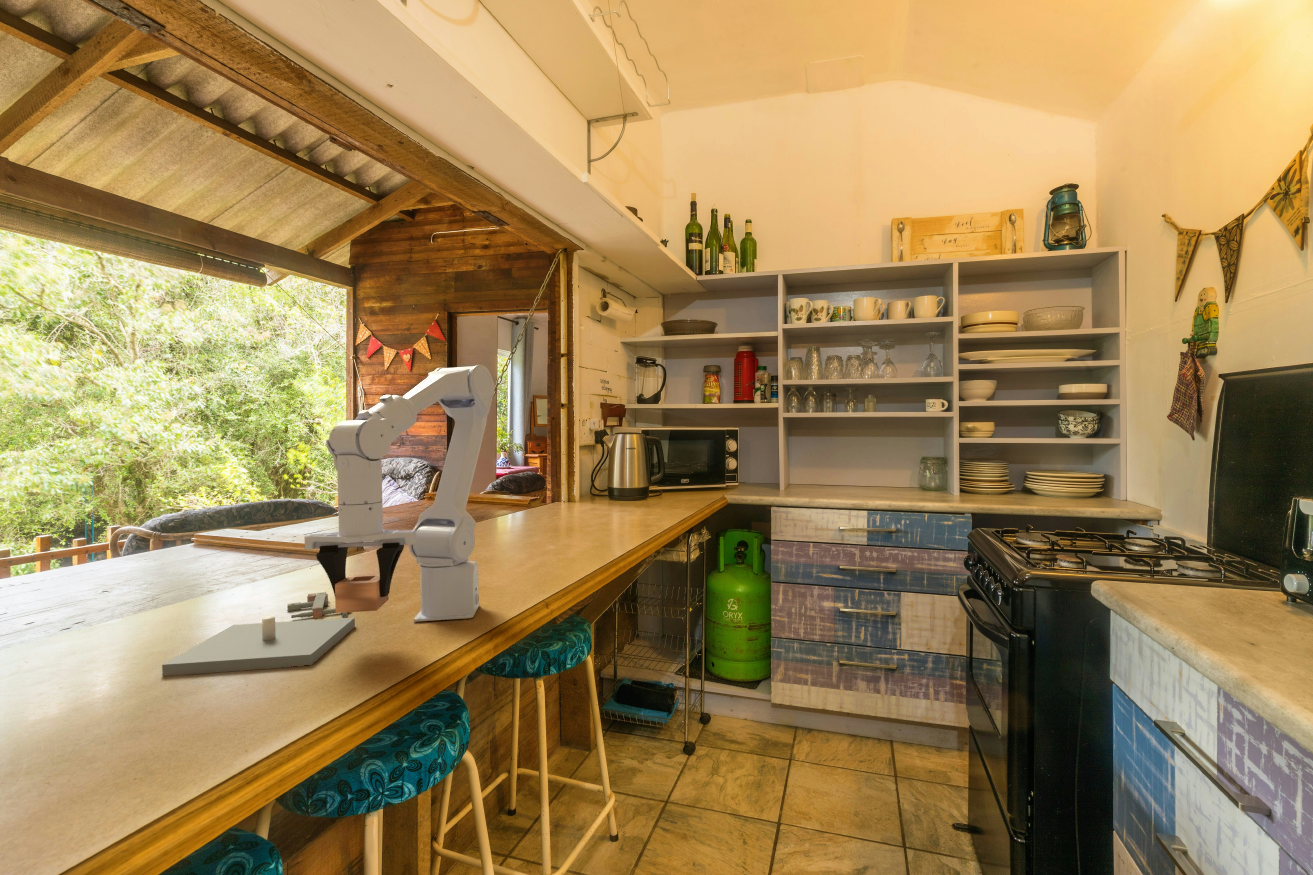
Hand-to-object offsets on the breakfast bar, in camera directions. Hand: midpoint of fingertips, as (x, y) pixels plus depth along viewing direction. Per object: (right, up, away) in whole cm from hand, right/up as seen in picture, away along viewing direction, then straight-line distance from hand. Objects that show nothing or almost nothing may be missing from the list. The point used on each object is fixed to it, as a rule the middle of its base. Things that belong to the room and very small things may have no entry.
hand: (362, 596), depth 83 cm
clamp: (-17, -9, +19) cm, 27 cm away
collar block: (0, -1, 0) cm, 1 cm away
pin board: (-14, -8, +1) cm, 16 cm away
